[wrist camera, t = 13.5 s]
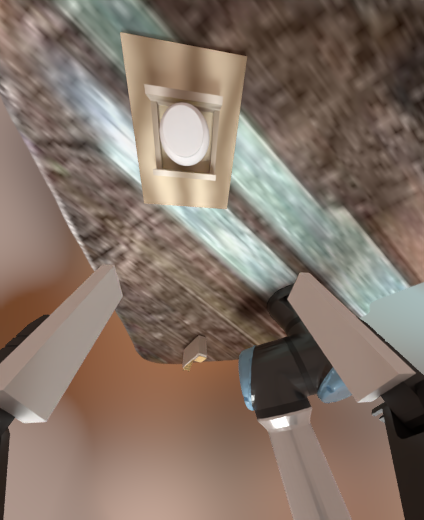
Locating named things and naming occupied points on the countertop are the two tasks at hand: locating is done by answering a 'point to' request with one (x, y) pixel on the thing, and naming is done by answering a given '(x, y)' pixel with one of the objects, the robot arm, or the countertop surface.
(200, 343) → the model
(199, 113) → the supplement bottle
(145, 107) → the bottle dock
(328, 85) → the countertop surface
